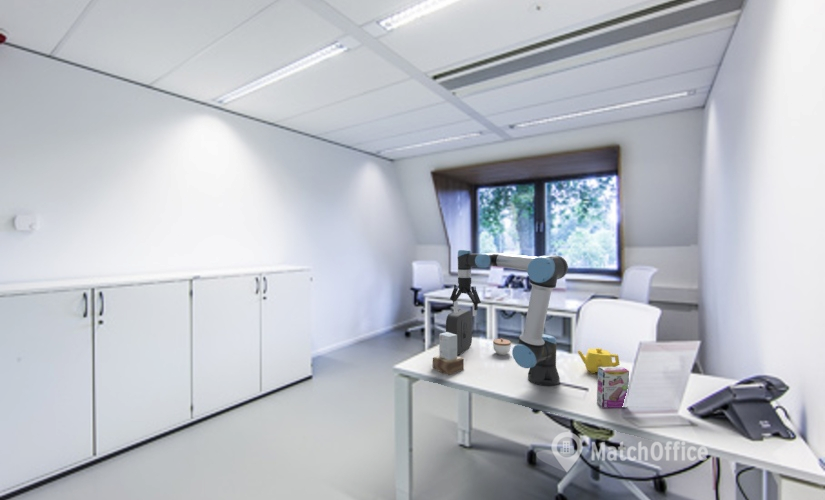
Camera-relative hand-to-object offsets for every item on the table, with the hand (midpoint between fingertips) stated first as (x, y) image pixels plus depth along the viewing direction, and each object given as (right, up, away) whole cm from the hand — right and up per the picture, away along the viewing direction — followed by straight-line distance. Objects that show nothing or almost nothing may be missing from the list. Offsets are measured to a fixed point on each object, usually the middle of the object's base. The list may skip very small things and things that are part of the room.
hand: (465, 314), depth 199 cm
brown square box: (-10, -29, -6) cm, 31 cm away
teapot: (+70, -29, -12) cm, 76 cm away
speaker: (+1, -28, +26) cm, 38 cm away
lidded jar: (+26, -28, +20) cm, 43 cm away
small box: (-10, -23, -6) cm, 26 cm away
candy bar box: (+56, -31, -49) cm, 80 cm away
